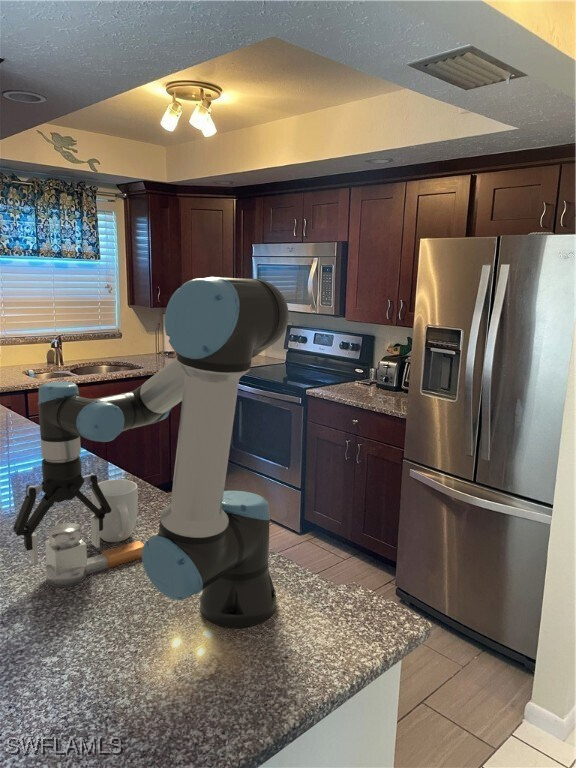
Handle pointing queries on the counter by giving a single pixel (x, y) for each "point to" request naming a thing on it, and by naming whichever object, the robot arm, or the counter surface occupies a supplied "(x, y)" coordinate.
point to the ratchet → (96, 564)
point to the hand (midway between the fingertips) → (66, 553)
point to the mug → (118, 509)
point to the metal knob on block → (65, 548)
